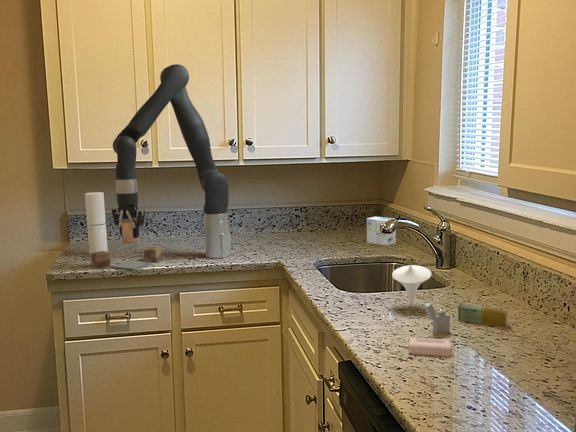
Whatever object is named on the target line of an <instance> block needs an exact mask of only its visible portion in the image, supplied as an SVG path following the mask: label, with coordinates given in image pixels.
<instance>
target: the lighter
mask: <svg viewBox="0 0 576 432" xmlns="http://www.w3.org/2000/svg"><path fill="white" fill-rule="evenodd" d="M422 306H423V308H424V311H425V313H426V316H427V317H428V319H430V320H432V333H433V334H436V335H439V334H443V333H449V332H450V331H451V322H450V321H451V314H450V313H447V311H446V310H444V309H442V310H436V311H437V313H436V311H435V308H434V306H433V304H432V303H430V302H428V301H427V302H425V303H424V304H423V305H422Z"/></svg>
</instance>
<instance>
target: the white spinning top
mask: <svg viewBox="0 0 576 432" xmlns="http://www.w3.org/2000/svg"><path fill="white" fill-rule="evenodd" d="M391 276H392V278H393V279H394V280H395V281H397V282H399V283H400V285H402V286H403V287H404V289H405V291H406V294H407V297H408V303H409V306H411V307H412V306H413V305H414V299H415V297H416V293H417V291H418V288H419V287H420V286H421V284H423V283H425V282H426V281H428V280H429V279H431V277H432V272H431V270H430V269H429V268H427V267H424V266H421V265H414V264H411V265H404V266H400V267H398V268H396V269H395V270H393V272H392V273H391Z"/></svg>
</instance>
